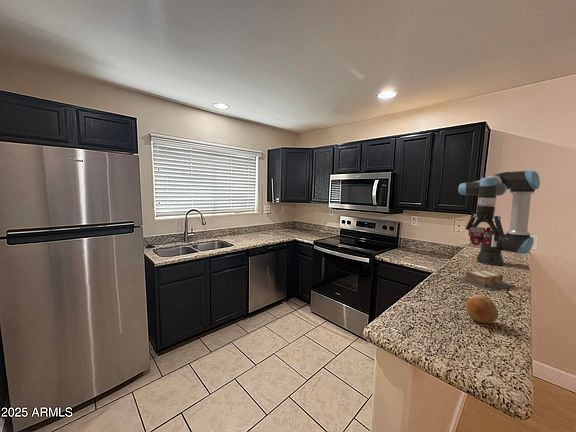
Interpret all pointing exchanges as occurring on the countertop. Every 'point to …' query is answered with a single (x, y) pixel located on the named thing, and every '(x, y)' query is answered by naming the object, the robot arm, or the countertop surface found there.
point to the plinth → (484, 278)
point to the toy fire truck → (480, 235)
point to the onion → (481, 309)
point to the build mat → (503, 285)
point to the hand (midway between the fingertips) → (482, 244)
